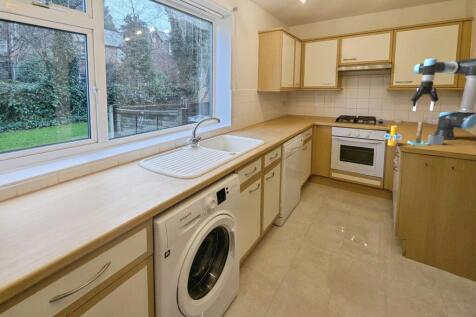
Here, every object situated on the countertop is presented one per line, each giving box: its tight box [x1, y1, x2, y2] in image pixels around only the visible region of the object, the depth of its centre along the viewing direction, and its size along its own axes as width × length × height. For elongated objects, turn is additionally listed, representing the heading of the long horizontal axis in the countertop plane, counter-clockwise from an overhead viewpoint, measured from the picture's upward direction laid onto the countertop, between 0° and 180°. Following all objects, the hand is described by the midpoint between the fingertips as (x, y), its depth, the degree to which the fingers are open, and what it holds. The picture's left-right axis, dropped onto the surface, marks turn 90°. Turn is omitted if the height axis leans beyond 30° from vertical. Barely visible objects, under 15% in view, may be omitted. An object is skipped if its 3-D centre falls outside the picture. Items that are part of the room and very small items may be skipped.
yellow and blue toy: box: [384, 125, 403, 147], centre depth 213 cm, size 12×10×15 cm
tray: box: [406, 140, 430, 147], centre depth 213 cm, size 11×10×2 cm
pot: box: [427, 134, 444, 146], centre depth 212 cm, size 7×7×8 cm
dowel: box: [415, 121, 424, 143], centre depth 211 cm, size 3×3×17 cm
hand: (422, 110), depth 206 cm, fingers open, 13 cm apart
